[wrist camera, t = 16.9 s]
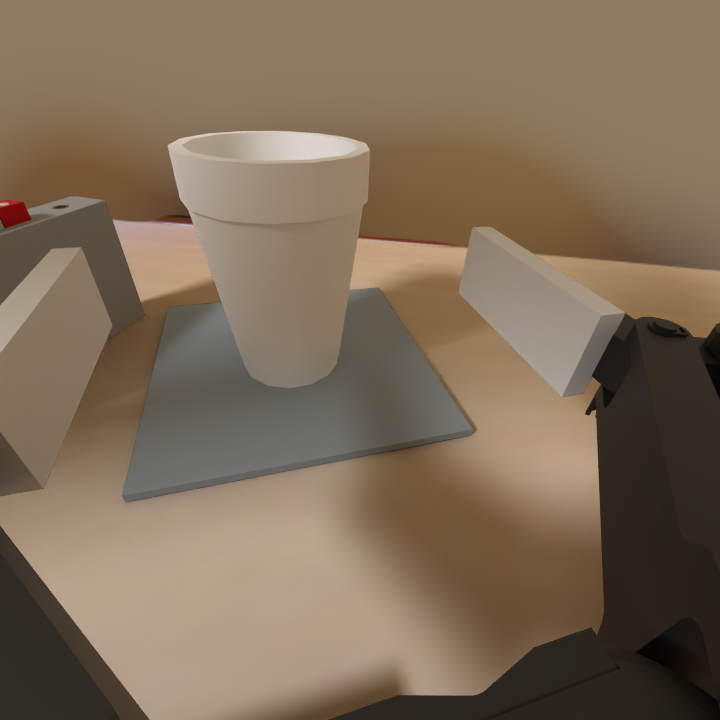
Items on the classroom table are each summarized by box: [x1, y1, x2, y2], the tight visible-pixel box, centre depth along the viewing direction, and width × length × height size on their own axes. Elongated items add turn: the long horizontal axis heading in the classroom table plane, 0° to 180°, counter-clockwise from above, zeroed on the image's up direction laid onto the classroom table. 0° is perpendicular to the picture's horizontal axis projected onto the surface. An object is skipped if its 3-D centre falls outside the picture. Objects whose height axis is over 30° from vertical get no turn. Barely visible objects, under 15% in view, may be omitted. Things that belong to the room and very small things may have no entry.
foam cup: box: [168, 131, 370, 388], centre depth 23 cm, size 10×9×13 cm
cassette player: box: [0, 196, 145, 342], centre depth 23 cm, size 16×3×10 cm, turn 165°
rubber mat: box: [122, 288, 473, 502], centre depth 27 cm, size 18×18×1 cm
